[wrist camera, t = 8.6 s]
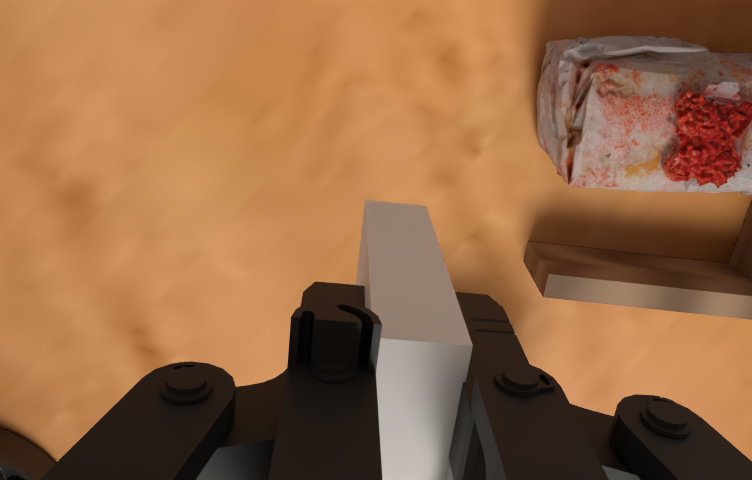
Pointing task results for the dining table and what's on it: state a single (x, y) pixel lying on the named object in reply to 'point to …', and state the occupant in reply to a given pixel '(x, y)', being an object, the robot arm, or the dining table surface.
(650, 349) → the dining table surface
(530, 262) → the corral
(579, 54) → the food item
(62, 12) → the dining table surface
